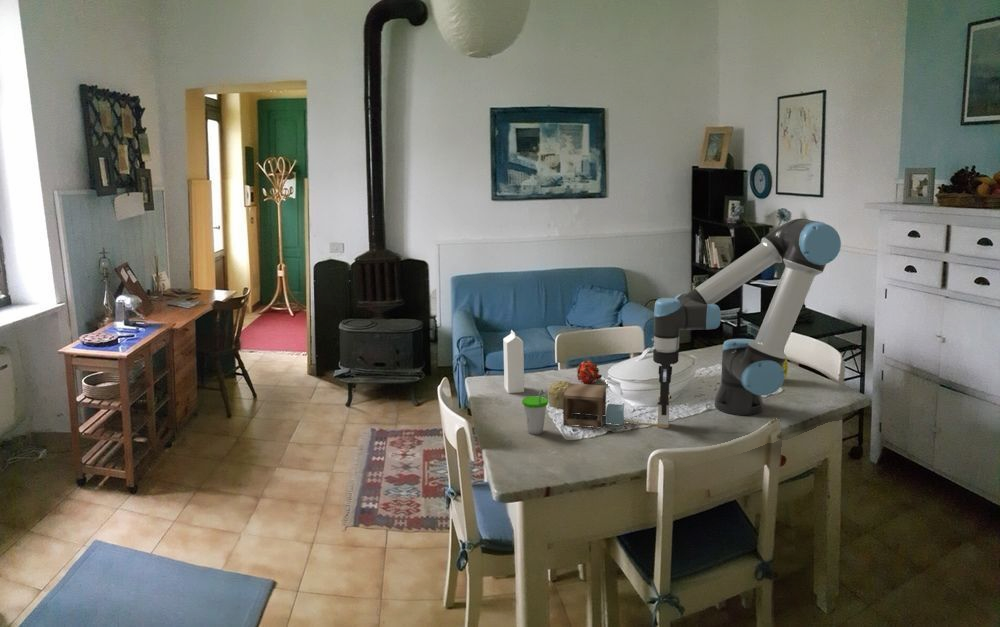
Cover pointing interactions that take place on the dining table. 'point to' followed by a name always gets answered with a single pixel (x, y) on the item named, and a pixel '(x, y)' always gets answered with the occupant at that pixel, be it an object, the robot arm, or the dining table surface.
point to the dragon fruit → (588, 372)
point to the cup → (535, 413)
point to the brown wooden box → (584, 404)
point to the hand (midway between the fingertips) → (663, 421)
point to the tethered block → (617, 415)
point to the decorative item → (557, 393)
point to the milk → (513, 364)
